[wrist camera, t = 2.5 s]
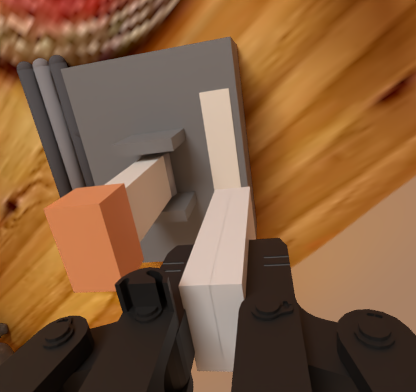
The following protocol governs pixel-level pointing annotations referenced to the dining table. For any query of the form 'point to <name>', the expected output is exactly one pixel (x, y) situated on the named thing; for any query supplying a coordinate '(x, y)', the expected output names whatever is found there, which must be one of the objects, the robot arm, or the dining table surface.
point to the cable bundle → (56, 122)
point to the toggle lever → (110, 222)
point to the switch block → (167, 128)
